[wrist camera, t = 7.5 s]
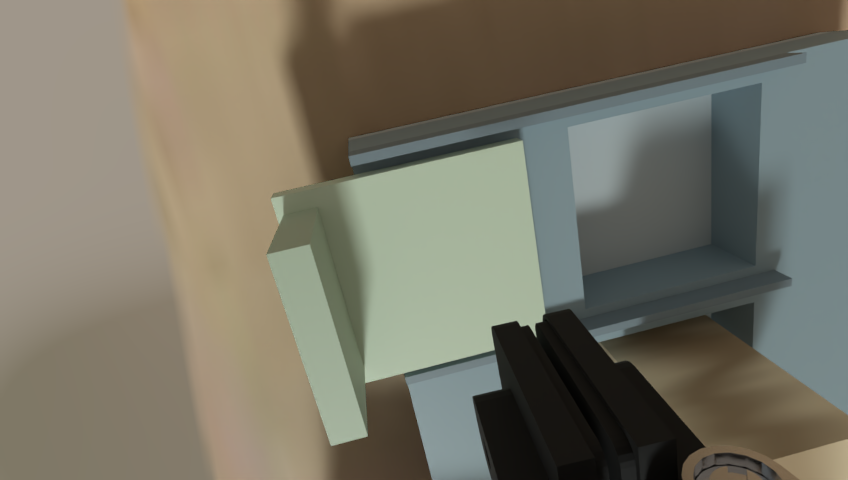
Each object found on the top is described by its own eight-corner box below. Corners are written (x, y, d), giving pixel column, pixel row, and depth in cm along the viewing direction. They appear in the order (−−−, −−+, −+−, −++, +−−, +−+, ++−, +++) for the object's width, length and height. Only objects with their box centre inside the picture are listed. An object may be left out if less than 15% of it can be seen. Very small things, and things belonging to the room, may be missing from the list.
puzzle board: (819, 32, 19) (927, 24, 15) (794, 381, 24) (869, 435, 21) (348, 138, 18) (348, 156, 14) (434, 479, 23) (450, 553, 20)
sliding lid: (516, 137, 15) (567, 160, 12) (542, 327, 18) (590, 394, 14) (273, 193, 15) (249, 234, 11) (333, 380, 17) (329, 463, 14)
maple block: (688, 303, 21) (871, 432, 14) (690, 389, 23) (855, 547, 15) (588, 329, 21) (719, 474, 14) (596, 414, 23) (718, 587, 15)
